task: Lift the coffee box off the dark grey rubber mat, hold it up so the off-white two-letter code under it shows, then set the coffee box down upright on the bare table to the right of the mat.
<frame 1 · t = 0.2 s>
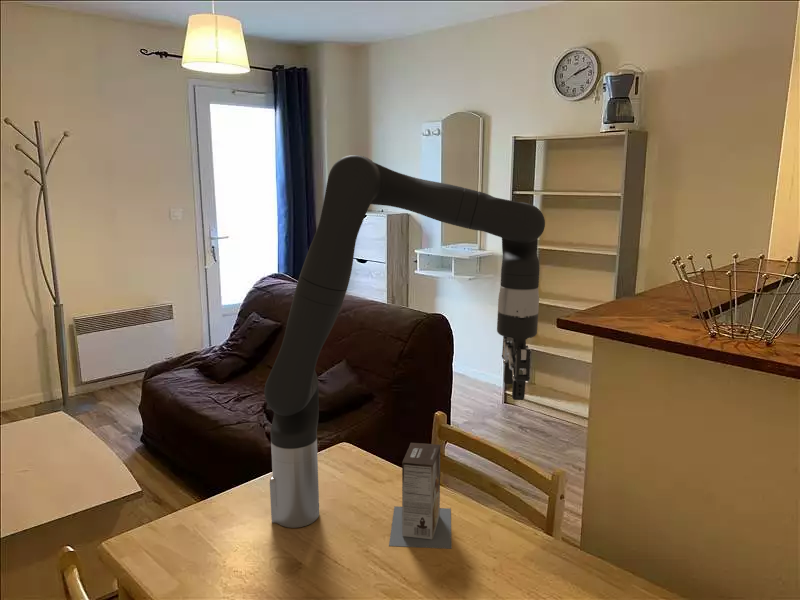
hand: (513, 391, 119), 29 cm above the table, tool pointing down, fingers open, 8 cm apart
code mat: (421, 526, 124), on the table
coffee box: (421, 526, 124), resting on code mat
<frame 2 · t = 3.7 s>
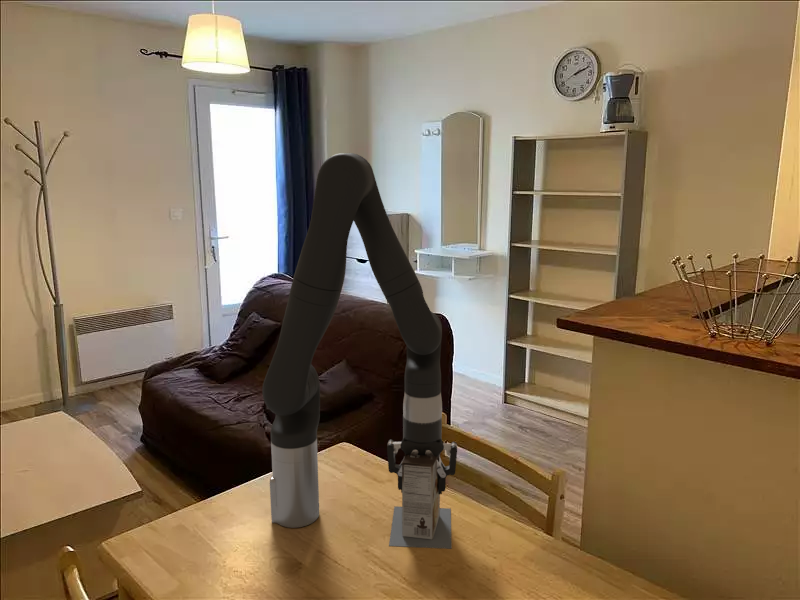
hand: (421, 491, 123), 8 cm above the table, tool pointing down, fingers closed on coffee box, 7 cm apart
coffee box: (421, 526, 124), resting on code mat, touching gripper
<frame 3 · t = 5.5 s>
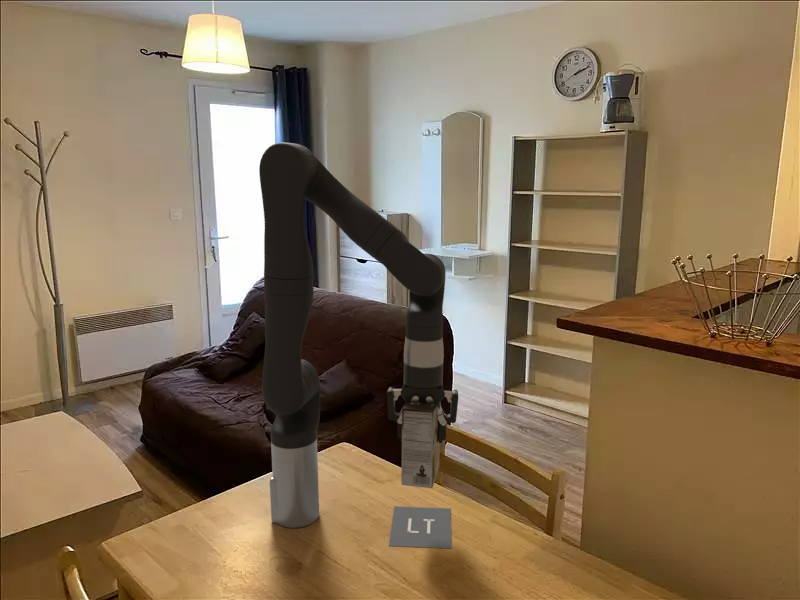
hand: (421, 440, 120), 19 cm above the table, tool pointing down, fingers closed on coffee box, 7 cm apart
coffee box: (420, 477, 122), point 11 cm above the table, touching gripper
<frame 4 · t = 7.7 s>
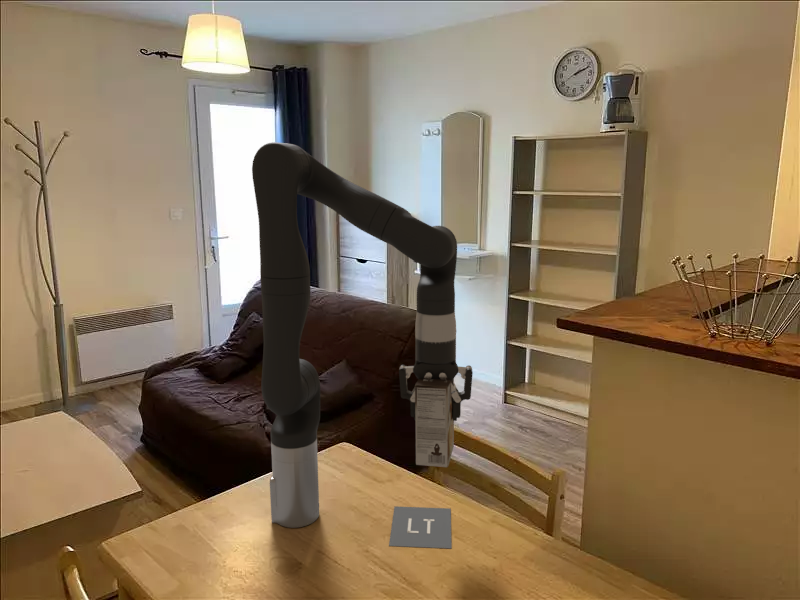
hand: (435, 418, 117), 24 cm above the table, tool pointing down, fingers closed on coffee box, 7 cm apart
coffee box: (435, 456, 119), point 16 cm above the table, touching gripper
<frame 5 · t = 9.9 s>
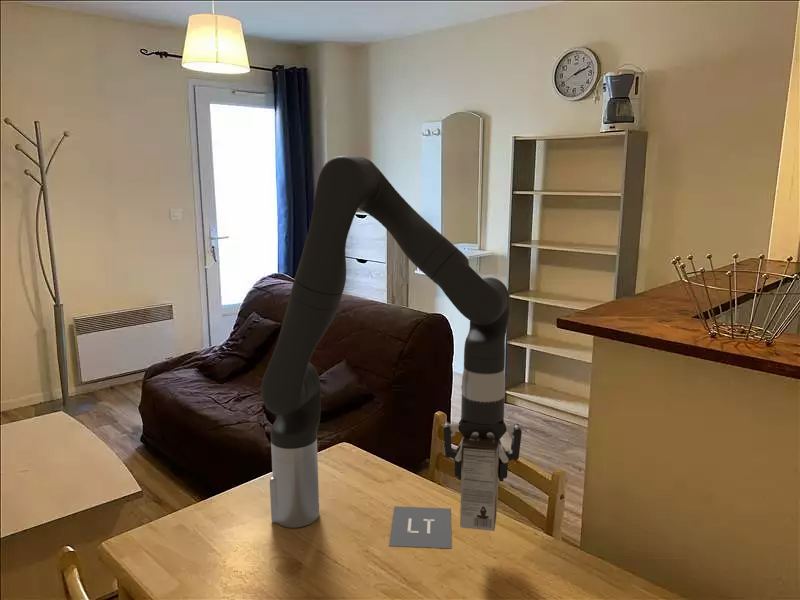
hand: (480, 478, 111), 16 cm above the table, tool pointing down, fingers closed on coffee box, 7 cm apart
coffee box: (479, 517, 113), point 8 cm above the table, touching gripper
when the fingers open (9 cm above the table, at t = 11.7 s): coffee box drops 2 cm, on the table.
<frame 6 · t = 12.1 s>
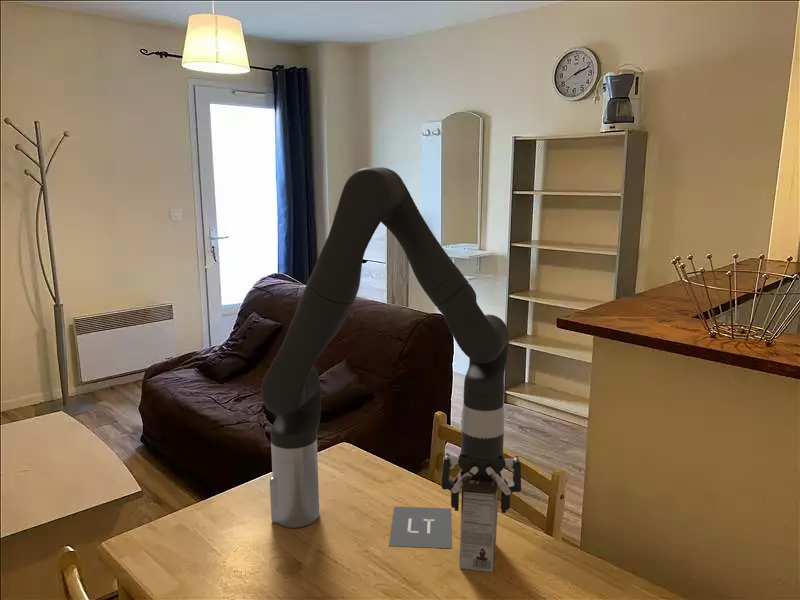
hand: (480, 509, 113), 10 cm above the table, tool pointing down, fingers open, 8 cm apart
coffee box: (478, 557, 115), on the table
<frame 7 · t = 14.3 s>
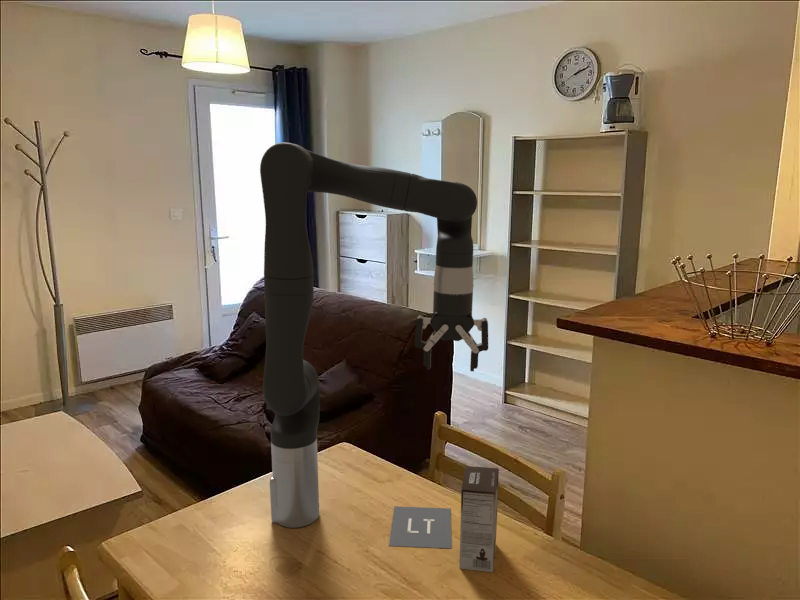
hand: (450, 369, 121), 32 cm above the table, tool pointing down, fingers open, 8 cm apart
nothing on the table moved.
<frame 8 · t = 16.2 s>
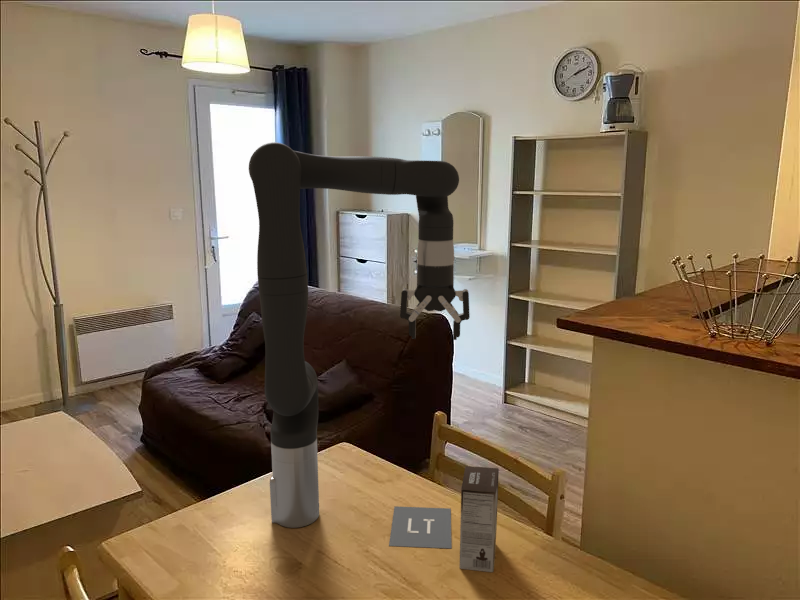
hand: (434, 338, 128), 36 cm above the table, tool pointing down, fingers open, 8 cm apart
nothing on the table moved.
at the end: coffee box inside the target area (0.1 cm from its centre), on the table; coffee box tilted 0°; the gripper is holding nothing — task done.
